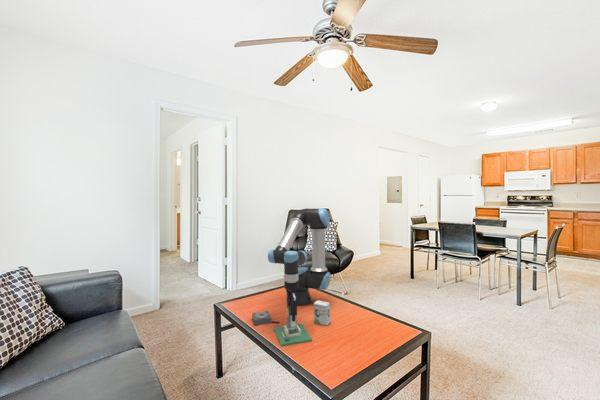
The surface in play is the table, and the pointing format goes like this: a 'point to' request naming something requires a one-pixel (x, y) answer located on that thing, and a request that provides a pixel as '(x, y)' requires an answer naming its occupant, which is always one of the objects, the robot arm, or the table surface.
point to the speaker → (261, 318)
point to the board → (292, 335)
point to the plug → (289, 316)
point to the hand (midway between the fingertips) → (292, 324)
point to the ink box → (322, 312)
